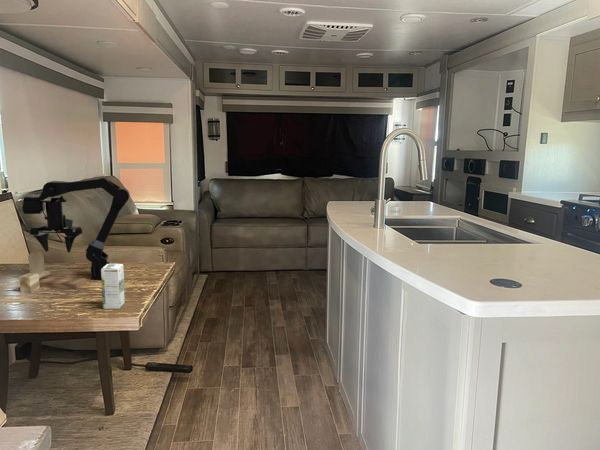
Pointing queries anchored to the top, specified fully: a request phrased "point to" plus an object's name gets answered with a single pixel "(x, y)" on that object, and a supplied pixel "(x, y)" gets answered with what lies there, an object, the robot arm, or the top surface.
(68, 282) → the board
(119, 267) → the syrup box
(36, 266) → the candle
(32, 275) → the gauge
